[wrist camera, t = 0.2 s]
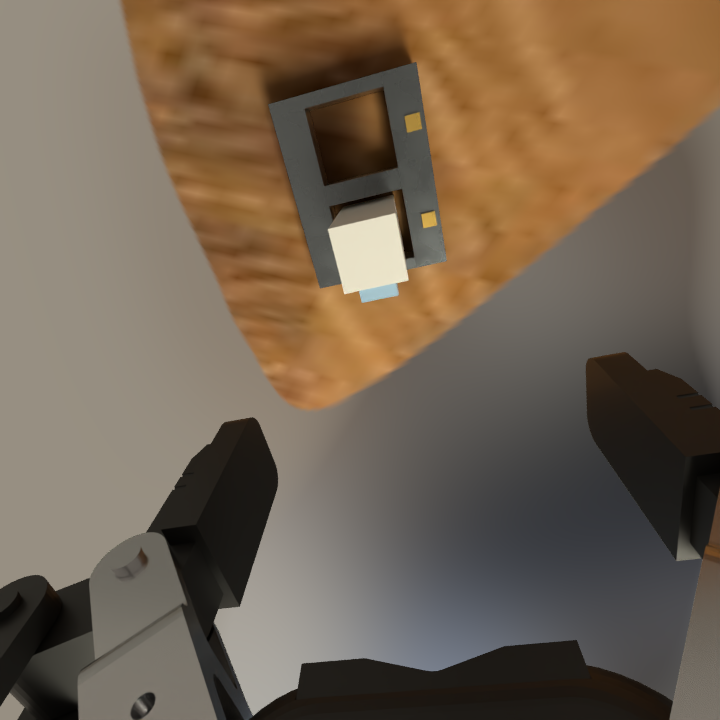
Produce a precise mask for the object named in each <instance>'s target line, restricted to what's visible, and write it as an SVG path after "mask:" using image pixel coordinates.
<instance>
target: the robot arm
mask: <svg viewBox="0 0 720 720" xmlns="http://www.w3.org/2000/svg"><path fill="white" fill-rule="evenodd" d="M586 396H587V419H588V425H589V429H590V432H591V435H592V437H593V440H594V442H595V443H596V445H597V446H598V448H599V449H600V451H601V452H602V453H603V455H604V456H605V458H606V459H607V461H608V462H609V464H610V465H611V467H612V468H613V469H614V471H615V472H616V474H617V475H618V477H619V478H620V480H621V481H622V483H623V484H624V485H625V487H626V488H627V490H628V491H629V493H630V494H631V496H632V497H633V499H634V500H635V501H636V503H637V504H638V506H639V507H640V509H641V510H642V512H643V513H644V514H645V516H646V517H647V519H648V520H649V522H650V523H651V525H652V526H653V528H654V529H655V531H656V532H657V533H658V535H659V536H660V538H661V539H662V541H663V542H664V544H665V545H666V546H667V548H668V549H669V551H670V552H671V554H672V555H673V557H674V558H675V560H676V561H679V560H680V561H681V560H690V559H699V558H702V559H703V561H702V565H701V571H700V576H699V580H698V585H697V590H696V594H695V599H694V604H693V609H692V614H691V619H690V624H689V628H688V633H687V638H686V642H685V647H684V652H683V657H682V662H681V667H680V671H679V676H678V681H677V686H676V690H675V695H674V700H673V701H672V700H670V699H668V698H667V697H666V696H664V695H662V694H661V693H659V692H657V691H655V690H653V689H651V688H649V687H648V686H646V685H644V684H642V683H640V682H638V681H635V680H633V679H630V678H628V677H625V676H623V675H621V674H618V673H615V672H611V671H608V670H605V669H601V668H598V667H593V666H588V665H586V663H585V661H584V658H583V655H582V653H581V650H580V648H579V645H578V642H577V640H573V641H562V642H549V643H538V644H526V645H515V646H504V647H501V648H499V649H496V650H493V651H491V652H488V653H485V654H483V655H480V656H477V657H475V658H472V659H469V660H467V661H464V662H462V663H459V664H456V665H453V666H451V667H448V668H445V669H443V670H439V671H424V670H419V669H415V668H409V667H405V666H400V665H395V664H390V663H385V662H380V661H375V660H370V659H364V658H363V659H351V660H341V661H340V660H339V661H328V662H317V663H304V664H302V666H301V672H300V678H299V684H298V689H295V690H293V691H290V692H289V693H287V694H285V695H283V696H281V697H279V698H277V699H276V700H274V701H273V702H271V703H270V704H268V705H267V706H266V707H264V708H262V709H261V710H260V711H259V712H258V713H256V714H255V715H254V716H253V715H252V712H251V711H250V708H249V706H248V704H247V702H246V699H245V697H244V694H243V692H242V689H241V686H240V684H239V681H238V679H237V676H236V674H235V671H234V669H233V666H232V664H231V661H230V658H229V656H228V653H227V651H226V648H225V646H224V643H223V641H222V638H221V636H220V633H219V630H218V629H217V627H216V625H215V624H214V619H215V616H216V614H217V611H218V609H222V608H231V607H240V604H241V601H242V598H243V595H244V591H245V588H246V585H247V582H248V579H249V576H250V573H251V569H252V566H253V563H254V560H255V557H256V554H257V551H258V548H259V545H260V541H261V538H262V535H263V532H264V529H265V526H266V523H267V519H268V516H269V513H270V510H271V507H272V504H273V501H274V498H275V494H276V491H277V487H278V473H277V468H276V465H275V462H274V459H273V457H272V454H271V452H270V449H269V447H268V444H267V442H266V440H265V437H264V434H263V432H262V430H261V427H260V425H259V423H258V421H257V420H256V419H255V418H253V417H252V418H246V419H240V420H235V421H229V422H225V423H223V424H222V426H221V428H220V429H219V431H218V433H217V434H216V436H215V438H214V439H213V441H212V443H211V444H208V445H206V446H205V447H204V448H203V449H202V450H201V451H200V452H199V453H198V454H197V455H195V456H194V457H193V458H192V459H191V461H190V463H189V464H188V466H187V467H186V469H185V471H184V472H183V474H182V475H183V477H180V479H179V480H178V482H177V484H176V485H175V490H172V492H171V493H170V495H169V496H168V498H167V500H166V501H165V503H164V504H163V506H162V508H161V510H160V511H159V513H158V514H157V516H156V517H155V519H154V521H153V522H152V524H151V526H150V527H149V529H148V530H147V532H146V533H142V534H139V535H136V536H133V537H131V538H129V539H127V540H125V541H123V542H122V543H120V544H119V545H117V546H116V547H115V548H113V549H112V550H111V551H110V552H108V553H107V554H106V555H105V556H104V557H103V558H102V559H101V561H100V562H99V563H98V564H97V566H96V567H95V569H94V570H93V572H92V574H91V577H90V578H89V579H86V580H83V581H81V582H78V583H76V584H73V585H70V586H68V587H65V588H63V589H60V590H58V591H55V590H54V589H53V588H52V586H51V585H50V584H49V582H48V581H47V580H46V579H45V578H44V577H43V576H40V575H32V576H27V577H24V578H21V579H18V580H16V581H14V582H12V583H10V584H8V585H6V586H4V587H3V588H1V589H0V706H1V705H2V703H3V701H4V700H5V698H6V697H7V695H8V694H9V692H10V693H11V694H12V695H13V696H14V697H15V698H16V699H17V700H18V701H19V702H20V703H21V704H22V705H23V706H24V707H25V708H24V710H23V711H22V713H21V715H20V716H19V718H18V720H720V410H719V409H718V408H716V407H713V406H712V403H710V402H709V401H708V400H707V399H705V398H704V397H703V396H702V395H698V392H697V391H696V390H694V389H693V388H692V387H691V386H689V385H688V384H687V383H686V382H684V381H683V380H682V379H680V378H678V377H675V376H673V375H670V374H668V373H665V372H663V371H660V370H658V369H654V370H649V371H647V370H646V369H645V368H644V367H643V366H641V365H640V364H639V363H638V362H637V361H636V360H635V359H634V358H632V357H631V356H630V355H629V354H628V353H626V352H622V353H616V354H611V355H605V356H600V357H594V358H590V359H588V361H587V363H586Z"/></svg>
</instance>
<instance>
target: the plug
mask: <svg viewBox="0 0 720 720" xmlns="http://www.w3.org/2000/svg"><path fill="white" fill-rule="evenodd" d="M328 232H329V236H330V240H331V244H332V248H333V251H334V255H335V259H336V263H337V267H338V271H339V274H340V278H341V282H342V286H343V290H344V294H347V293H352V292H356V291H359V292H360V296H361V301H362V303H363V302H368V301H373V300H378V299H383V298H387V297H392V296H397V295H399V293H398V285H397V283H399V282H404V281H408V274H407V267H406V260H405V254H404V247H403V241H402V236H401V231H400V226H399V221H398V215H397V210H396V205H395V200H394V195H389V196H385V197H381V198H377V199H373V200H369V201H365V202H361V203H356V204H352V205H348V206H344V207H343V208H342V209H341V211H340V212H339V214H338V215H337V216H336V218H335V219H334V221H333V222H332V224H331V225H330V227H329V228H328Z"/></svg>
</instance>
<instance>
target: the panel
mask: <svg viewBox="0 0 720 720" xmlns="http://www.w3.org/2000/svg"><path fill="white" fill-rule="evenodd" d="M383 90H384V94H385V100H386V105H387V111H388V116H389V122H390V127H391V132H392V138H393V143H394V149H395V154H396V160H397V165H398V166H396V167H392V168H388V169H384V170H380V171H376V172H372V173H368V174H364V175H360V176H356V177H352V178H348V179H344V180H340V181H336V182H332V183H328V181H327V176H326V172H325V168H324V164H323V160H322V156H321V152H320V148H319V144H318V140H317V136H316V132H315V128H314V124H313V120H312V116H311V112H310V111H312V110H315V109H319V108H322V107H326V106H329V105H333V104H337V103H340V102H344V101H347V100H351V99H354V98H358V97H362V96H365V95H369V94H372V93H376V92H379V91H383ZM268 105H269V109H270V113H271V116H272V120H273V123H274V127H275V130H276V134H277V137H278V141H279V144H280V148H281V152H282V155H283V159H284V162H285V166H286V169H287V173H288V176H289V180H290V183H291V187H292V190H293V194H294V198H295V201H296V205H297V208H298V212H299V215H300V219H301V222H302V226H303V229H304V233H305V237H306V240H307V244H308V247H309V251H310V254H311V258H312V261H313V265H314V268H315V272H316V275H317V279H318V283H319V286H320V288H324V287H329V286H333V285H338V284H342V282H341V278H340V274H339V271H338V267H337V263H336V259H335V255H334V251H333V248H332V244H331V240H330V236H329V232H328V228H329V227H330V225H331V224H332V222H333V221H334V219H335V218H336V213H335V209H334V205H337V204H341V203H345V202H350V201H354V200H358V199H362V198H366V197H370V196H374V195H378V194H382V193H386V192H391V191H395V190H399V189H402V192H403V198H404V203H405V209H406V214H407V220H408V225H409V231H410V236H411V242H412V247H413V250H411V251H407V252H404V254H405V260H406V267H407V270H408V269H412V268H417V267H421V266H426V265H431V264H435V263H440V262H445V261H447V260H446V253H445V247H444V240H443V233H442V227H441V220H440V214H439V207H438V201H437V194H436V188H435V181H434V175H433V168H432V161H431V155H430V148H429V142H428V135H427V129H426V122H425V116H424V109H423V103H422V96H421V90H420V83H419V76H418V70H417V63H416V62H415V63H411V64H408V65H404V66H401V67H397V68H394V69H390V70H387V71H383V72H380V73H376V74H373V75H369V76H366V77H362V78H359V79H355V80H352V81H348V82H345V83H341V84H338V85H334V86H331V87H327V88H324V89H320V90H317V91H313V92H310V93H306V94H303V95H299V96H296V97H292V98H289V99H285V100H282V101H278V102H275V103H271V104H268Z"/></svg>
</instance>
